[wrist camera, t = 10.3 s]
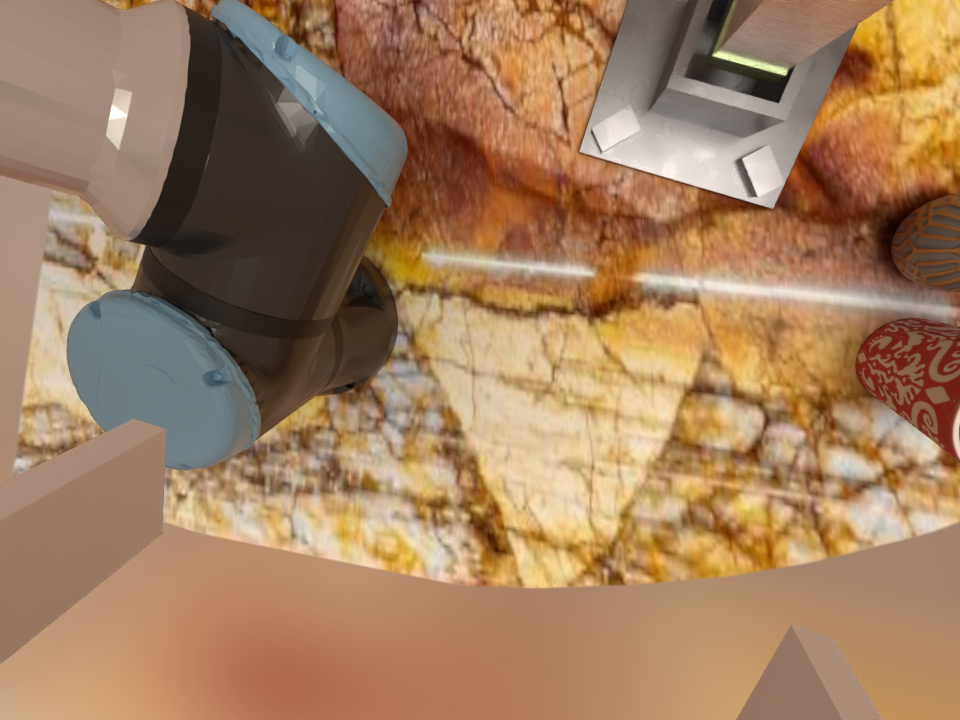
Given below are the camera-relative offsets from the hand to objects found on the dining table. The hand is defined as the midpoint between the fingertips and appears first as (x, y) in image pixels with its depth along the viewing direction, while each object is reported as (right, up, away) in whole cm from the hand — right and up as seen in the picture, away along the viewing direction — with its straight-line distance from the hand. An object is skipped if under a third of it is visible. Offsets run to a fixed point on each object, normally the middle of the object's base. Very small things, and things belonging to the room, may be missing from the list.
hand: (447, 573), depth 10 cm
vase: (+36, +14, +29) cm, 48 cm away
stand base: (+19, +26, +28) cm, 43 cm away
